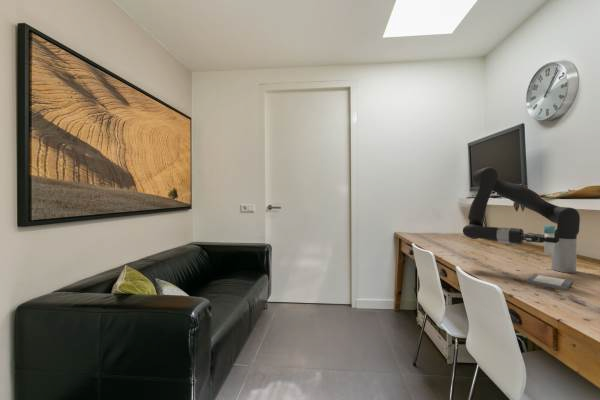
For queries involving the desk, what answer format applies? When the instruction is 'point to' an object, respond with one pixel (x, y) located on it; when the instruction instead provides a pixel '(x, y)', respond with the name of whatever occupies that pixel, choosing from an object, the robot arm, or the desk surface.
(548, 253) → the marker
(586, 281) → the desk surface
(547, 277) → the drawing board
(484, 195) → the robot arm
